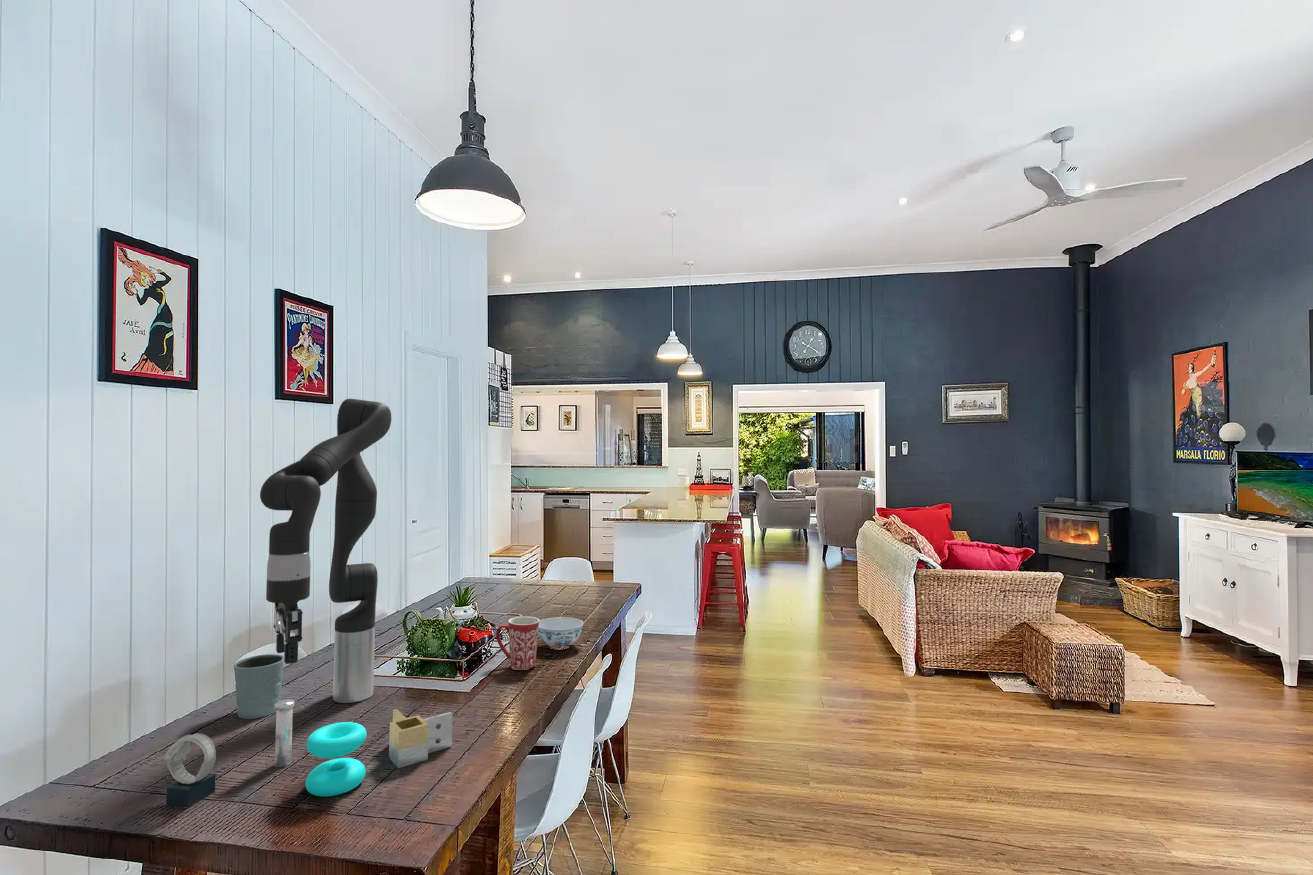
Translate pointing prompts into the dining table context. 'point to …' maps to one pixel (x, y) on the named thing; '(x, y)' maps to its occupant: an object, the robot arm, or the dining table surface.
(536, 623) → the mug
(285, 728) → the hinge pin
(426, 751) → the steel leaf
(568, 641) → the chinaware
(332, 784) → the donuts
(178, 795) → the watch
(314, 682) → the dining table surface
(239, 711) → the embossed green planter pot
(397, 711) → the bracket
